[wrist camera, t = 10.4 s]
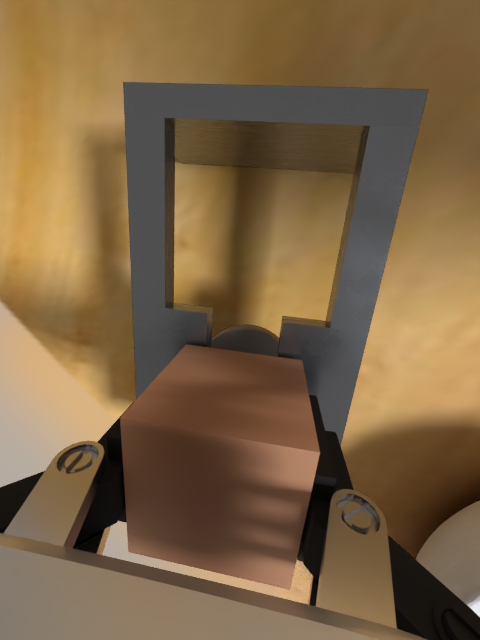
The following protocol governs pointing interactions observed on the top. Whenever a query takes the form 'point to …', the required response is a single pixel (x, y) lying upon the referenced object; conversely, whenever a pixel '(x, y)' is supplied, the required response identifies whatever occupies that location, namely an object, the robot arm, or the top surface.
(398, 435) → the top surface
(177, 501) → the keyhole peg
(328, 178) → the top surface
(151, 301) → the keyhole bracket
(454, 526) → the serving bowl
